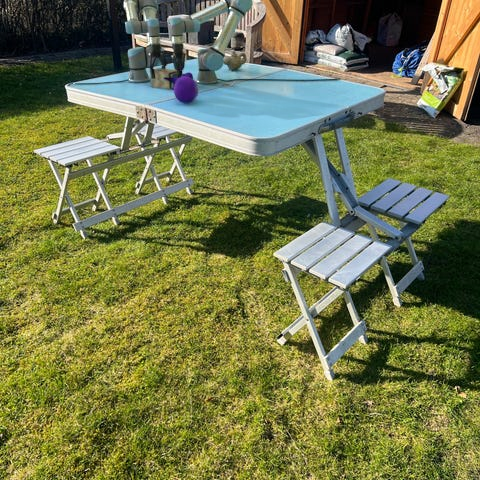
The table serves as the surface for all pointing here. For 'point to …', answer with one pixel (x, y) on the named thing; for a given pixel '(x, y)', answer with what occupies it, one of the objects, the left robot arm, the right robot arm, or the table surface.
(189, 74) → the toy
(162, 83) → the tan cardboard box
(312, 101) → the table surface
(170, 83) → the drawer
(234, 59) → the teapot
